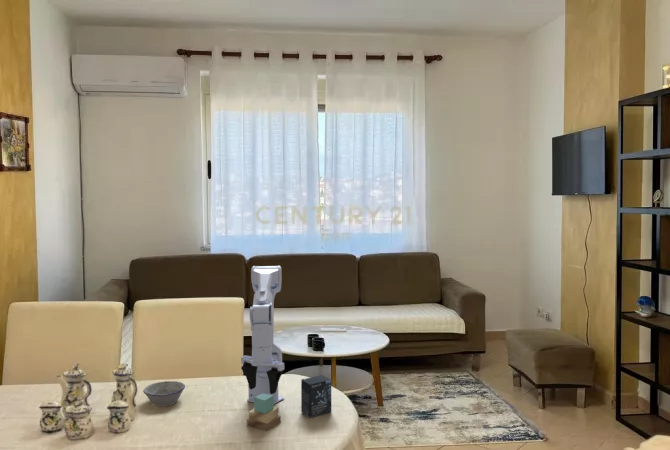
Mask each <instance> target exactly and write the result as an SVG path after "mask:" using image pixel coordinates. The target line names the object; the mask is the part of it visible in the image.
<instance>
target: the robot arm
mask: <svg viewBox="0 0 670 450" xmlns="http://www.w3.org/2000/svg"><path fill="white" fill-rule="evenodd" d="M250 273H251V274H250V279H251V282H250V283H251V284H252V285H251V286H252V289H253V293H254V294H253V302H252V306H250V308H249V322H250V332H251V347H252V348H251V355H243V356H241V357H240V364H243V365H242V366H241V370H242V372H243V374H244V376H245V378H246V381H247V384H248V385H247V387H248V392H247V393H248V399H246V401H247V402H250V403H253V404H254V397H256V396H258V395H260V394H262V393H265V394H268V395H272V396H274V405H276V404H277V403H279V402H280V401H282V400H284V399H285V397H284V396H281V395H279V382H280V380H281V376H282V374H283V373H284V371H285V362H283V352H282V349H281V347H280V346H278V345H277V344H276V343H274V332H275V331H274V330H275V329H274V328H275V325H274V324H275V323H274V313H275V309H274V304H275V303H274V301H275V297H276V294H277V293H280V292H281V290H282V279H283V278H282V267H281V265H266V266H265V265H262V266H260V265H253V266H252V267H251V270H250Z"/></svg>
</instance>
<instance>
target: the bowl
mask: <svg viewBox="0 0 670 450" xmlns="http://www.w3.org/2000/svg"><path fill="white" fill-rule="evenodd" d="M185 388H186V385H185V384H184V383H183V382H181V381H177V380H176V381H175V380H173V381H170V380H169V381H168V380H167V381H165V380H164V381H159V382H155V383H151V384H148V385H147V386H145V388H144V389H143V390H142V391H143V394H145V396H146V397H147V399H148V400H149V402H150V403H151V404H152V405H153V404H154V405H153V406H156V405H157V406H158V407H167V406H171V405H173V403H174V404H176V403H177V402H178V401H179V399H180V396H182V395H181V394H182V393H183V392H184V389H185ZM175 402H176V403H175ZM166 405H167V406H166Z"/></svg>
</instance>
